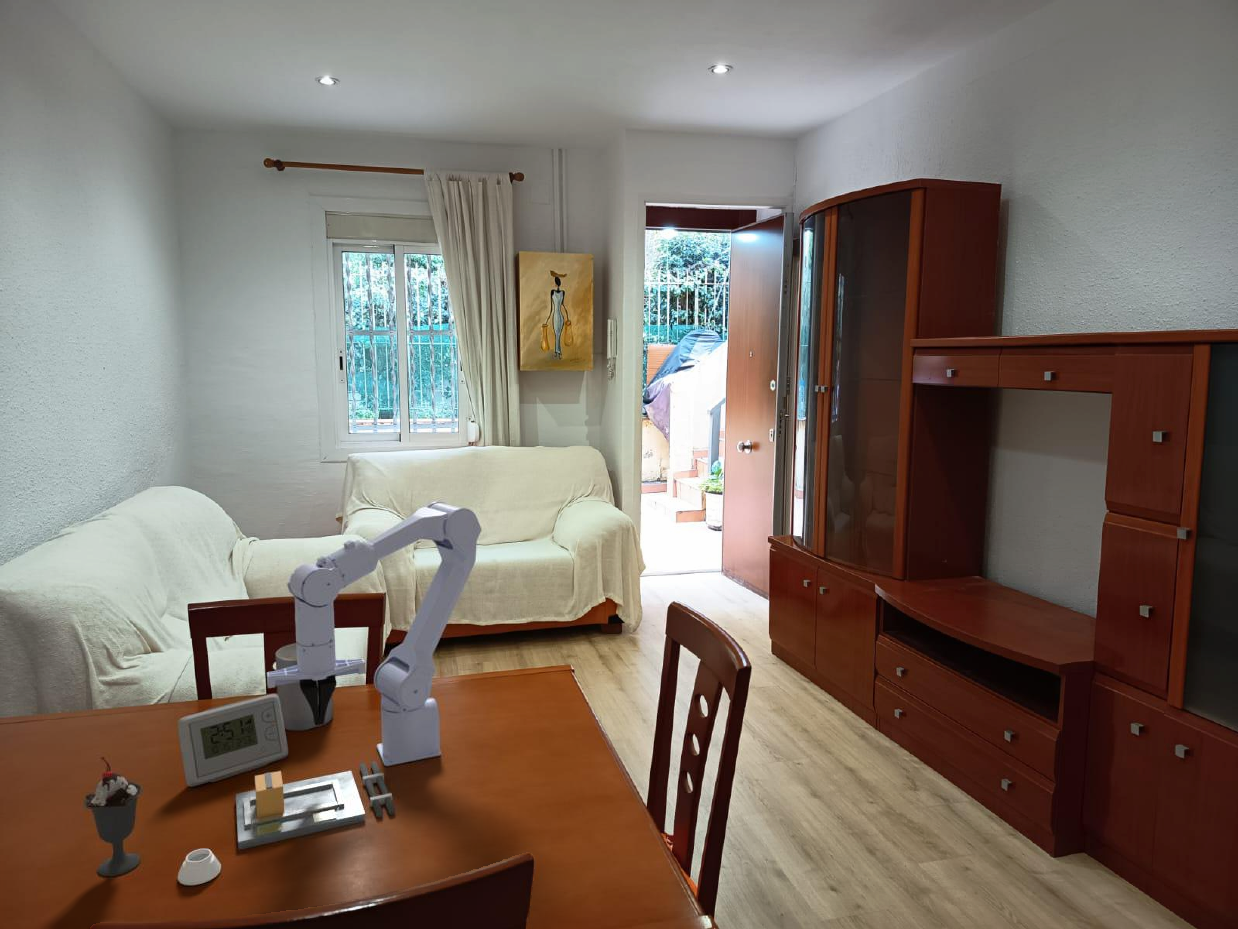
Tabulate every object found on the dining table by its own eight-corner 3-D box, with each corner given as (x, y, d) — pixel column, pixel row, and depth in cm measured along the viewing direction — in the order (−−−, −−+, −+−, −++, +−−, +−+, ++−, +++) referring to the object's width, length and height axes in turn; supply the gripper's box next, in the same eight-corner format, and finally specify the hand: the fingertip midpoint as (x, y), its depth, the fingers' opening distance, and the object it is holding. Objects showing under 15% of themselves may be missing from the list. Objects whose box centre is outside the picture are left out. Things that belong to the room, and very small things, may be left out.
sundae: (105, 852, 113) (97, 748, 111) (156, 850, 114) (149, 747, 112) (78, 882, 107) (69, 773, 105) (132, 880, 107) (125, 771, 105)
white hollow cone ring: (208, 888, 106) (228, 865, 111) (207, 867, 106) (227, 844, 111) (170, 887, 106) (191, 864, 111) (169, 866, 106) (190, 843, 111)
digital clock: (182, 793, 129) (178, 728, 128) (179, 768, 137) (175, 707, 135) (292, 767, 137) (289, 706, 136) (283, 745, 145) (280, 687, 144)
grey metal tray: (351, 777, 134) (351, 767, 134) (365, 821, 121) (364, 809, 121) (236, 801, 126) (235, 790, 126) (238, 850, 114) (237, 838, 114)
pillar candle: (295, 707, 161) (291, 633, 158) (343, 710, 159) (339, 635, 157) (268, 729, 151) (263, 651, 149) (318, 733, 150) (314, 654, 148)
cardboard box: (282, 798, 125) (280, 769, 124) (284, 814, 120) (283, 785, 120) (256, 803, 123) (254, 774, 123) (257, 820, 119) (256, 790, 118)
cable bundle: (377, 765, 138) (377, 758, 138) (396, 813, 123) (396, 807, 123) (357, 769, 137) (357, 762, 136) (375, 818, 122) (374, 812, 122)
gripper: (267, 655, 123) (271, 741, 125) (367, 641, 129) (370, 723, 131) (264, 640, 129) (268, 723, 131) (360, 628, 136) (362, 707, 137)
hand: (319, 722), depth 131 cm, fingers closed
